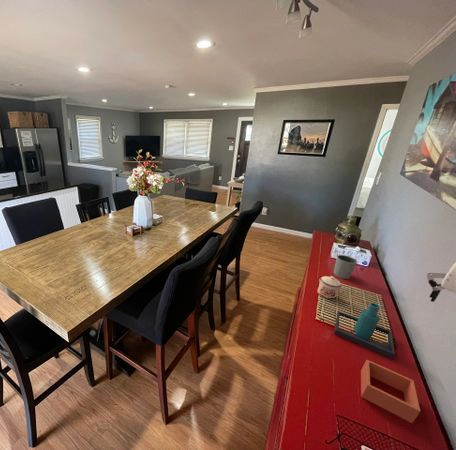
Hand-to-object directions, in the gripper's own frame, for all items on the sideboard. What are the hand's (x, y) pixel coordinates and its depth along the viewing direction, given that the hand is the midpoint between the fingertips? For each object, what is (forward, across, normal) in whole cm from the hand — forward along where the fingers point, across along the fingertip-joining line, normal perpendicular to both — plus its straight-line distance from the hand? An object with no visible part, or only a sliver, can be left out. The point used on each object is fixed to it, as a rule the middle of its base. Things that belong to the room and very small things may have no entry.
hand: (454, 309), depth 76 cm
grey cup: (+34, +46, -58) cm, 81 cm away
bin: (+33, +3, +15) cm, 37 cm away
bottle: (+33, +19, -10) cm, 39 cm away
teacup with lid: (+34, +40, -28) cm, 59 cm away
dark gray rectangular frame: (+33, +19, -10) cm, 39 cm away
